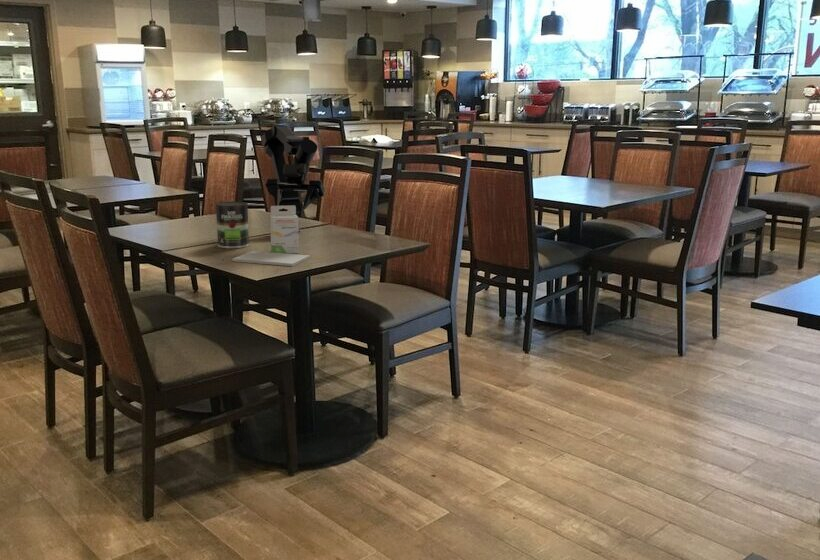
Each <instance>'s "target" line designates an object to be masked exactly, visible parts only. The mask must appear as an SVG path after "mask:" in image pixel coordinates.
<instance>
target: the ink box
mask: <svg viewBox="0 0 820 560" xmlns="http://www.w3.org/2000/svg"><path fill="white" fill-rule="evenodd" d="M282 208H284V209H288V211H279V209H282ZM269 219H270V220H269V222H270V252H272V253H285V254H300V237H299V235H300V232H299V231H300V220H299V216H297V215H296V206H295V205H293V206H275V205H271V206H270V216H269Z"/></svg>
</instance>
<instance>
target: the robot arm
mask: <svg viewBox="0 0 820 560" xmlns="http://www.w3.org/2000/svg"><path fill="white" fill-rule="evenodd" d="M260 142H261V146H262V147H263V151H264V152H265V154H266V155H268V157H269V158H271V162H272V163H271V164H272V167H273V171H274V175H275V178H267V179H266V180H265V184H264V185H265V187H266V190H267V191H268V194H269V195H270V196H272V197H273V199H274V206H293V205H295V206H296V215H297V216H298V217H302V210H306V209H307V208H308V207H309V206H310V205H311V204H312V203H313V202H314V201H316V199H320V197H324V196H325V187H324V184H323V182H322V180H321V179H309V178H308V174H309V173H308V172H309V170H310V165H311V162H312V161H313V159H314V157H315V155H316V154H317V151H318V144H317V143H316V142H315V141H314V140H312V139H310V137H309V136H297V135H296V134H294V132H292V131H291V130H290V129H289V128H288V126H287V125H285V124H274V125H272V126H271V127H270V128H268V130H266V131H264V133H263V134H262V136H261V141H260ZM284 152H285V153H286V155H287V156H290V157H291V156H292V157H293V160H292V164H291V163H287V162H286V159H285V155H284ZM308 179H309V180H308ZM307 181H308V183H309V184H306V182H307ZM299 191H301V192H306V194H305V198H304V201H303V203H302V200H301V198H300V195H299ZM279 211H288V209H284V208H282V209H279ZM300 232H301V230H299V233H300Z"/></svg>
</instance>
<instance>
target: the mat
mask: <svg viewBox="0 0 820 560" xmlns="http://www.w3.org/2000/svg"><path fill="white" fill-rule="evenodd" d="M310 258H311V255H309V254H299V253H291V254H285V253H272V252H271V251H270V252H269V251H257V250H251V251H248V252H246V253H243V254H241V255H237V256H236V257H233V258H231V259H232V262H237V263H247V264H248V263H249V264H259V265H261V264H262V265H274V266H283V267H284V266H285V267H294V266H296V265H299V264H301V263H303V262H304V261H307V260H309V259H310Z"/></svg>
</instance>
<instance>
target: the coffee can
mask: <svg viewBox="0 0 820 560" xmlns="http://www.w3.org/2000/svg"><path fill="white" fill-rule="evenodd" d="M248 206H249V203H248V202H244V201H222V202H221V201H220V202H217V203H215V208H216V210H215V211H216V212H215V214H216V229H217V231H216V232H217V234H216V235H217V247H218V248H220V249H230V250H231V249H244V248H247V247H249V246H250V239H249V213H248Z"/></svg>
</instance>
